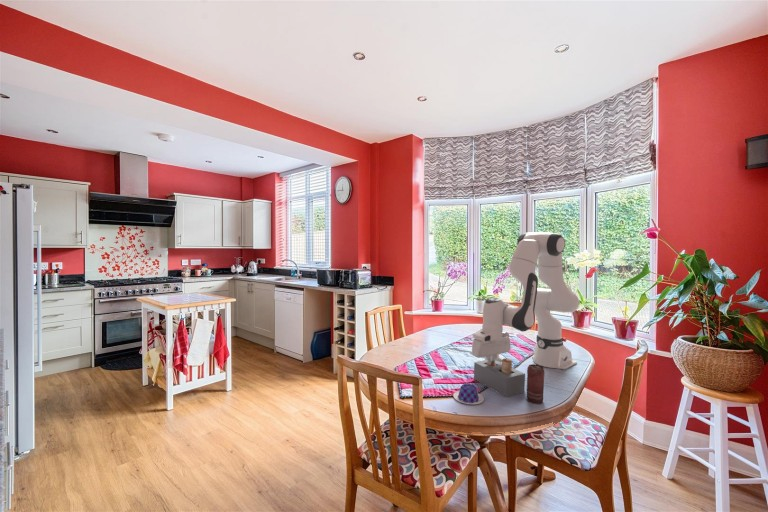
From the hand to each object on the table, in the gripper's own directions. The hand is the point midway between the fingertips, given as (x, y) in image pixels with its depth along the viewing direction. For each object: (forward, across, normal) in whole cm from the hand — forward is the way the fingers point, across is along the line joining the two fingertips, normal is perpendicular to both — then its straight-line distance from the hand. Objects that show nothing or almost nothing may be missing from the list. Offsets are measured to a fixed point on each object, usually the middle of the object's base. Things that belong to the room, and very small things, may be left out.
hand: (491, 363), depth 151 cm
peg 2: (+3, 0, +9) cm, 9 cm away
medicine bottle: (+8, -11, -10) cm, 17 cm away
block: (+8, 0, +4) cm, 9 cm away
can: (+8, -3, +21) cm, 23 cm away
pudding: (+9, +20, +8) cm, 23 cm away
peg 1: (+8, 0, 0) cm, 8 cm away
